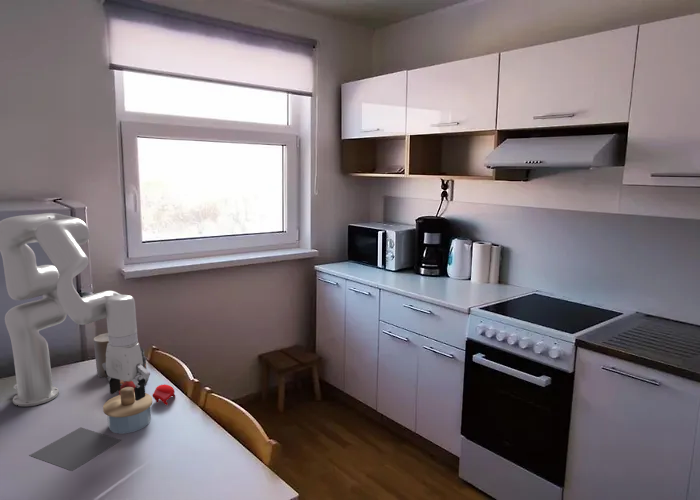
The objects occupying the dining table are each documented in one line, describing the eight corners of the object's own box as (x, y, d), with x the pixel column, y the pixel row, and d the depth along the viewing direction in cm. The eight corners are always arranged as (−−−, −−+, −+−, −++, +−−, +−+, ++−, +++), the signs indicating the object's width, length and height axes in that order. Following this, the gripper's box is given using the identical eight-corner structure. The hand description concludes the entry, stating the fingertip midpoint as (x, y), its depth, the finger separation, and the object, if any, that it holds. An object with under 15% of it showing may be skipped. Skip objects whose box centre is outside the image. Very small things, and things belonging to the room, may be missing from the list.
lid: (92, 411, 140) (91, 395, 139) (129, 392, 152) (128, 376, 151) (127, 421, 135) (125, 404, 134) (162, 400, 147) (161, 384, 146)
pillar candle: (132, 370, 182) (128, 331, 179) (108, 380, 173) (104, 339, 171) (114, 365, 186) (111, 327, 184) (90, 374, 178) (86, 335, 175)
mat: (29, 457, 128) (29, 455, 128) (80, 429, 142) (80, 427, 142) (72, 473, 122) (72, 470, 122) (121, 441, 136) (121, 439, 135)
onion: (132, 407, 154) (130, 383, 153) (115, 405, 155) (113, 382, 154) (143, 398, 160) (141, 375, 158) (127, 397, 161) (125, 374, 160)
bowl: (100, 429, 141) (98, 410, 140) (131, 412, 151) (129, 394, 150) (129, 438, 137) (127, 418, 136) (158, 419, 147) (157, 401, 146)
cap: (162, 400, 152) (176, 385, 156) (148, 391, 154) (161, 376, 157) (168, 411, 158) (181, 396, 162) (154, 402, 160) (167, 387, 163)
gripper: (89, 338, 140) (95, 395, 143) (135, 348, 133) (140, 407, 136) (112, 330, 146) (116, 384, 149) (156, 339, 140) (160, 395, 143)
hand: (127, 395), depth 143 cm, fingers open, 9 cm apart
